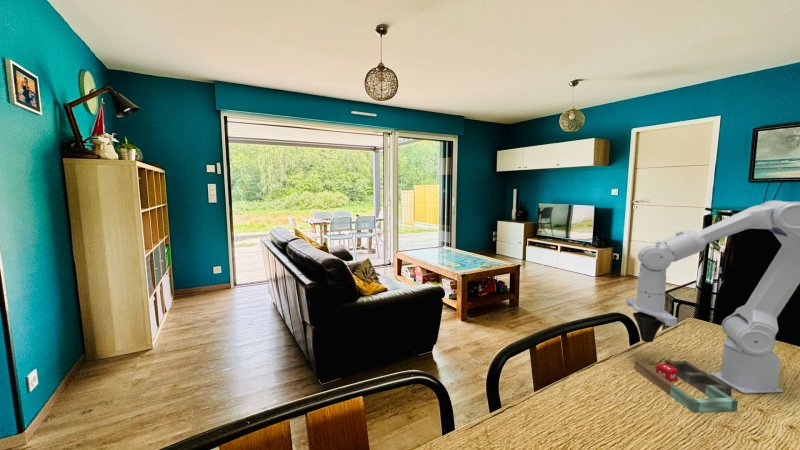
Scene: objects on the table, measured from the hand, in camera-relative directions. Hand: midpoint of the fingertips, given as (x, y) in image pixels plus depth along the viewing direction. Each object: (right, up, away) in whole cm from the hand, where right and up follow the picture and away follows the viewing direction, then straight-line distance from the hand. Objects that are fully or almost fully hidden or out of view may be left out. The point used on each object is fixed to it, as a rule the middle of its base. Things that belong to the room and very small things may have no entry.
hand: (647, 340), depth 86 cm
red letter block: (0, -8, -6) cm, 9 cm away
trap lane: (+2, -8, -10) cm, 12 cm away
